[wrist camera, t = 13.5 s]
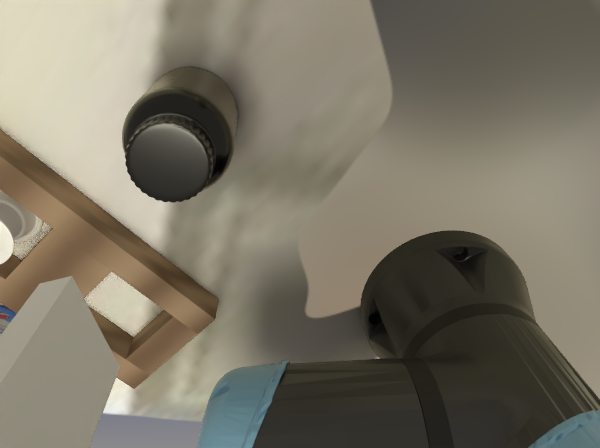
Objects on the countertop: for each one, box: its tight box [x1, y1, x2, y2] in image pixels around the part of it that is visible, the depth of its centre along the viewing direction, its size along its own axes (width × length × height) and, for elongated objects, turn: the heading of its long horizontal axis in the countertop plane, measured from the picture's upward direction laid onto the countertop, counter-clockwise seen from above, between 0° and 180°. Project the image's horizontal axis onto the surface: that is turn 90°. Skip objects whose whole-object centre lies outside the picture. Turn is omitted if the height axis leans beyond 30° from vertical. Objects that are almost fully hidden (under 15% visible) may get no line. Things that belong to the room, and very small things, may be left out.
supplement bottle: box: [122, 67, 238, 202], centre depth 33 cm, size 7×7×12 cm
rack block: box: [0, 130, 218, 389], centre depth 41 cm, size 24×11×3 cm, turn 43°
